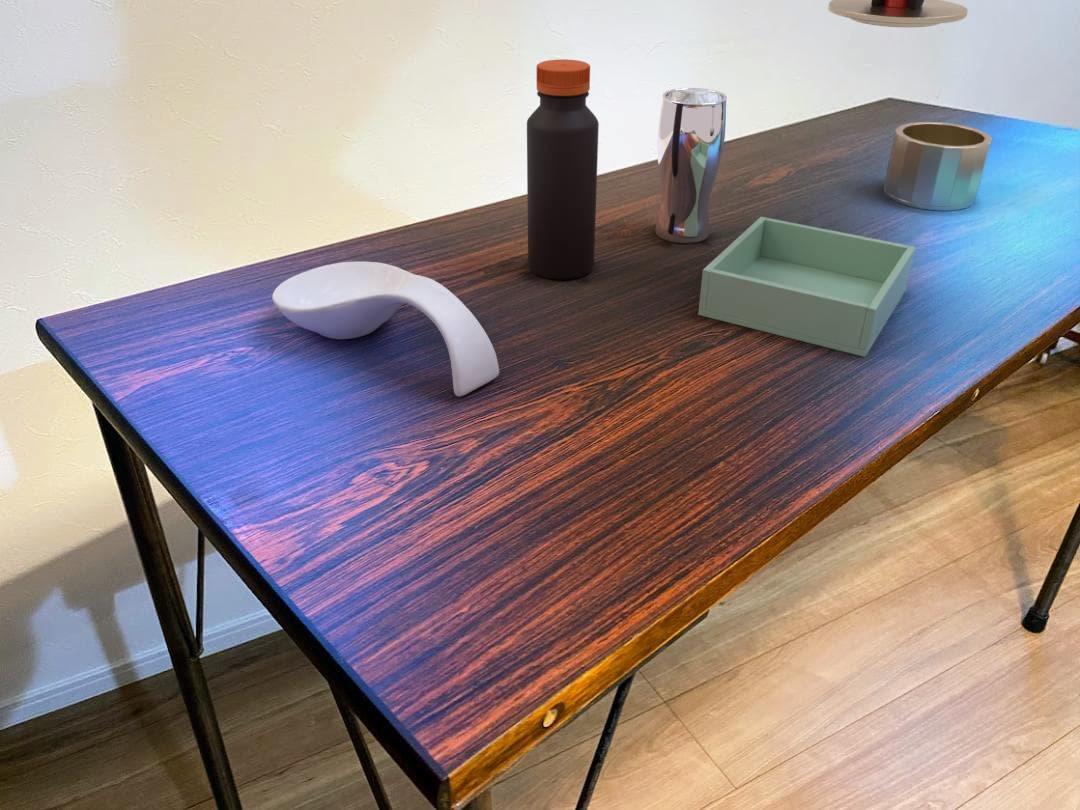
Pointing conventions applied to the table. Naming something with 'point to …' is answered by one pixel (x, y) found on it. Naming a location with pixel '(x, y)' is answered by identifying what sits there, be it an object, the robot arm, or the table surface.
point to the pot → (936, 165)
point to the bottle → (562, 172)
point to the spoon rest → (387, 312)
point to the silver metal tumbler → (689, 161)
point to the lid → (899, 12)
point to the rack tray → (807, 284)
